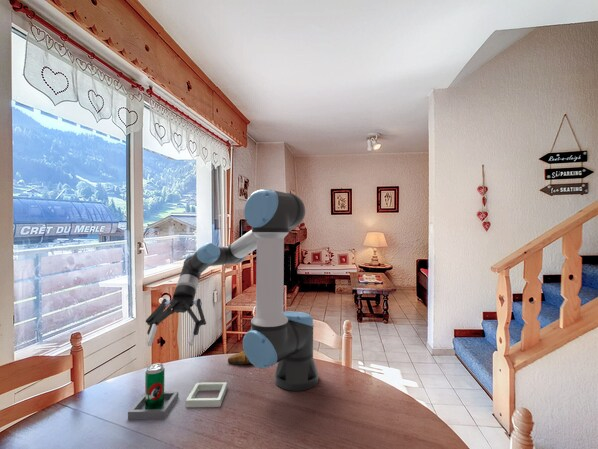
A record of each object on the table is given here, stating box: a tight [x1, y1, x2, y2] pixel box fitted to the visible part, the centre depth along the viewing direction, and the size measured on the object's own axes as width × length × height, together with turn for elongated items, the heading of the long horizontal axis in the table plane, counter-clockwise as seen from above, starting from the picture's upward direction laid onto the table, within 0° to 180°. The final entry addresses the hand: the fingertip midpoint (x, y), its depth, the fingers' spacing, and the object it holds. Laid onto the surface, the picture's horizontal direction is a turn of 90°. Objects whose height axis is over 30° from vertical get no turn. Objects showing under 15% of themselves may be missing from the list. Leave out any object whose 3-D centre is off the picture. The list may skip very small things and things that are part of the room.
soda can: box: [144, 363, 166, 410], centre depth 85 cm, size 5×5×12 cm
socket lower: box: [185, 381, 228, 408], centre depth 91 cm, size 10×10×2 cm
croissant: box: [227, 350, 253, 366], centre depth 115 cm, size 14×7×5 cm, turn 92°
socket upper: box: [127, 391, 179, 420], centre depth 85 cm, size 10×10×2 cm
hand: (169, 344), depth 96 cm, fingers open, 13 cm apart
